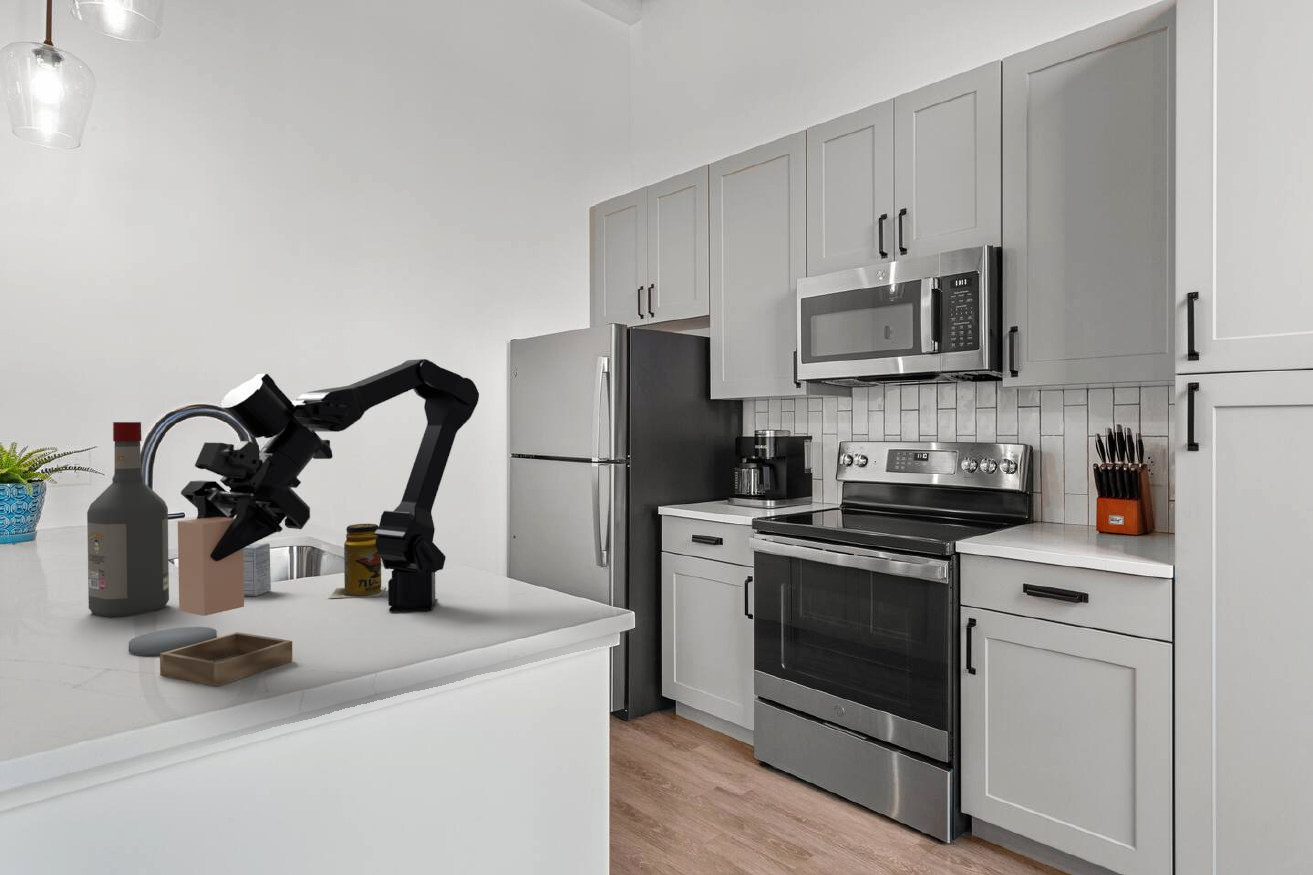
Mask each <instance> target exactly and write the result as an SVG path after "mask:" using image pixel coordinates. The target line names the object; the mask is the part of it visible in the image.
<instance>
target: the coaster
mask: <svg viewBox="0 0 1313 875" xmlns="http://www.w3.org/2000/svg"><path fill="white" fill-rule="evenodd" d="M214 638H218V631H217V629H215V628H212V627H208V626H207V627H206V626H184V627H174V628H173V627H172V628H167V629H161V630H156V631H152V632H148V633H144V634H140V635H139V636H136V637H134V638H131V639H130V640H129V641H128V652H129V654H132V655H136V656H160V654H161V653H164V652H168V651H171V650H175V649H178V648H182V647H186V646H189V645H193V644H196V643H200V642H203V641H207V640H211V639H214Z"/></svg>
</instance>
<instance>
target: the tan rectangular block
mask: <svg viewBox="0 0 1313 875" xmlns="http://www.w3.org/2000/svg"><path fill="white" fill-rule="evenodd" d="M235 518H236V517H234V518H228V517H210V518H201V519H197V518H195V519H187V520H186V519H185V520H179V521H178V520H177V555H178V556H177V557H178V559H177V560H178V562H177V563H178V564H177V565H178V569H177V570H178V609H179V610H178V611H179V612H181V613H186V614H193V615H197V616H203V617H206V616H210V615H215V614H219V613H223V612H227V611H232V610H236V609H240V608H244V607H245V596H244V564H243V549H241V550H239V551H237V552H235V553H233V554H231V555H229V556H227V557H226V558H224V559H222V560H220V561H215V560H213V559H212V558H211V554H212V552H213V550H214V548H215V547H216V545H217V544H218V542H219V541H220V539H221V538H222V537H223V535H224V534H225V532H226V531H227V529H228V528H229V526H230V525H231V524H232V522H233V521H234V519H235Z"/></svg>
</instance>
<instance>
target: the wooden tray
mask: <svg viewBox="0 0 1313 875" xmlns="http://www.w3.org/2000/svg"><path fill="white" fill-rule="evenodd" d="M235 654H240V655H238V656H235V657H231V658H228V659H225V660H221V661H215V660H217V659H221V658H224V657H228V656H230V655H235ZM290 662H293V640H289V639H282V638H275V637H270V636H262V635H258V634H251V633H244V632H238V631H236V632H233V633H229V634H225V635H222V636H217V638H214V639H211V640H207V641H203V642H200V643H196V644H193V645H189V646H186V647H182V648H178V649H175V650H171V651H168V652H164V653H161V654H160V655H159V671H160V672H159V675H161V676H166V677H169V678H174V679H179V680H186V681H190V682H195V683H198V684H199V683H200V684H203V685H204V684H205V685H209V686H212V687H213V686H214V687H221V686H223V685H227V684H229V683H232V682H235V681H238V680H240V679H244V678H246V677H249V676H252V675H255V674H258V673H261V672H264V671H267V670H269V669H274V668H276V667H278V666H281V665H284V664H287V663H290Z"/></svg>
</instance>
